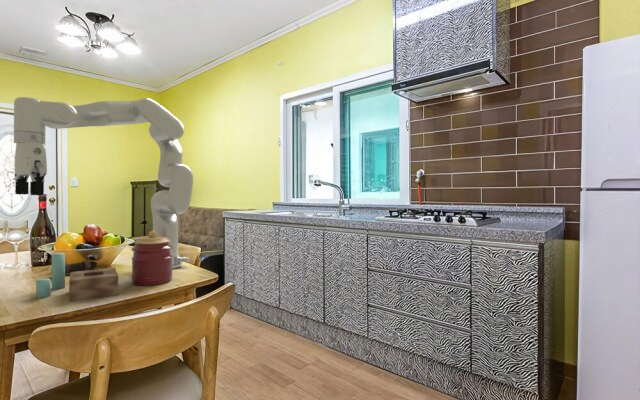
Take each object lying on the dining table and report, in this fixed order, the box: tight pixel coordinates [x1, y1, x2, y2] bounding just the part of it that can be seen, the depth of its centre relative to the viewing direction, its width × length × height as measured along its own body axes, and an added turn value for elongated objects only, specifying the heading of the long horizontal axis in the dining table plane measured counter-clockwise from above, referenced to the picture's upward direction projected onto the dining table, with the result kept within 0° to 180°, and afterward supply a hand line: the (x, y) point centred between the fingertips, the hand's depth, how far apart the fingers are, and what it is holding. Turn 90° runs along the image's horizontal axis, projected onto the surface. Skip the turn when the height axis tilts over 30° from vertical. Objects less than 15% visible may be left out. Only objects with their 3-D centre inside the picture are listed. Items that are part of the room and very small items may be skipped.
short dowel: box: [35, 277, 52, 299], centre depth 103 cm, size 3×3×5 cm
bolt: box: [50, 260, 98, 275], centre depth 132 cm, size 6×5×15 cm
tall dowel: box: [51, 252, 66, 290], centre depth 112 cm, size 3×3×11 cm
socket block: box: [68, 267, 119, 303], centre depth 107 cm, size 12×12×6 cm
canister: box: [130, 230, 173, 286], centre depth 122 cm, size 13×13×18 cm
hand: (29, 194), depth 108 cm, fingers open, 9 cm apart
